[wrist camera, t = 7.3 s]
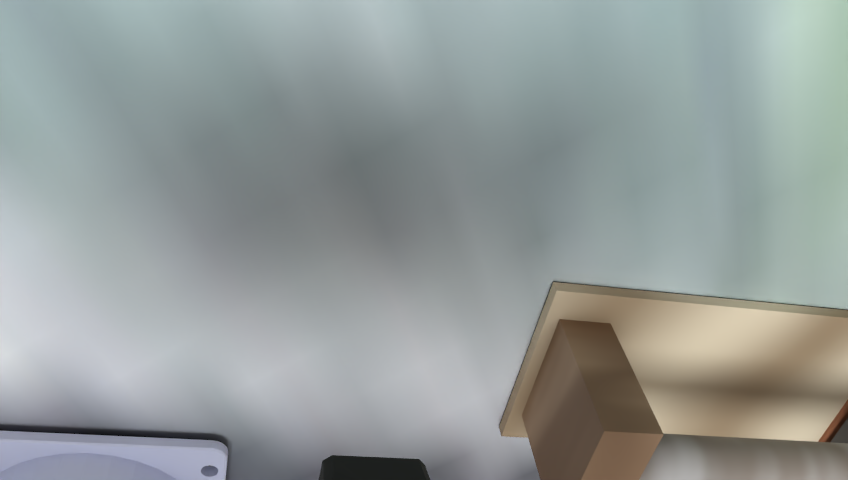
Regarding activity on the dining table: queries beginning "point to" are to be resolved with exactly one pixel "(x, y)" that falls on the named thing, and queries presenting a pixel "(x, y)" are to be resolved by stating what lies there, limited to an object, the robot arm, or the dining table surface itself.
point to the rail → (681, 388)
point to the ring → (841, 434)
